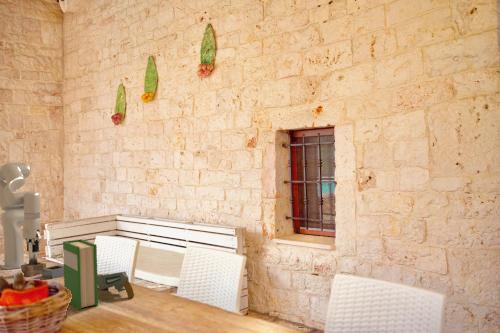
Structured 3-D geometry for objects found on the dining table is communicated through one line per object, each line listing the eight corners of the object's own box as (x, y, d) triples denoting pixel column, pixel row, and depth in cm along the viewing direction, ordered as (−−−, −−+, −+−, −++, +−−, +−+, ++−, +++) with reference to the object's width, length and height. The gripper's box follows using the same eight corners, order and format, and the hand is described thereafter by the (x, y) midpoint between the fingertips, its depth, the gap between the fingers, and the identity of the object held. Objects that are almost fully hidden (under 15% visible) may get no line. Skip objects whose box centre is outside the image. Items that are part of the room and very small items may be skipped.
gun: (108, 307, 190) (100, 274, 194) (137, 296, 175) (129, 260, 179) (101, 309, 188) (94, 276, 191) (131, 298, 173) (122, 262, 176)
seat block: (41, 276, 214) (41, 268, 214) (58, 272, 221) (58, 264, 221) (52, 278, 209) (52, 270, 209) (68, 274, 216) (68, 266, 216)
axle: (27, 263, 220) (26, 242, 219) (34, 262, 223) (34, 241, 223) (31, 264, 217) (31, 243, 217) (39, 262, 221) (38, 241, 221)
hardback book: (98, 305, 166) (96, 244, 166) (78, 310, 161) (76, 247, 161) (83, 295, 179) (81, 239, 179) (64, 299, 175) (63, 241, 175)
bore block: (21, 274, 219) (21, 265, 219) (37, 271, 226) (36, 261, 226) (30, 276, 214) (30, 266, 214) (46, 272, 221) (46, 263, 221)
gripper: (16, 216, 221) (16, 251, 221) (34, 218, 212) (35, 254, 212) (30, 214, 227) (30, 248, 228) (48, 216, 218) (49, 251, 219)
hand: (33, 251), depth 220 cm, fingers closed on axle, 4 cm apart
